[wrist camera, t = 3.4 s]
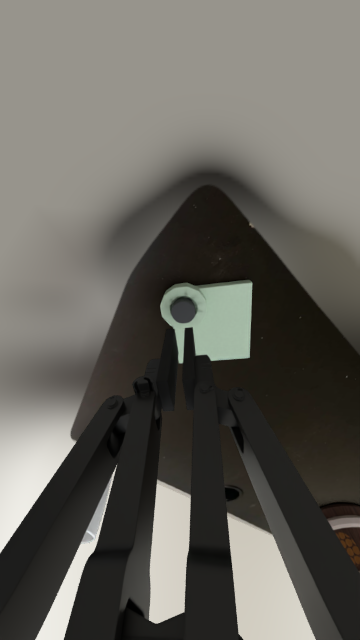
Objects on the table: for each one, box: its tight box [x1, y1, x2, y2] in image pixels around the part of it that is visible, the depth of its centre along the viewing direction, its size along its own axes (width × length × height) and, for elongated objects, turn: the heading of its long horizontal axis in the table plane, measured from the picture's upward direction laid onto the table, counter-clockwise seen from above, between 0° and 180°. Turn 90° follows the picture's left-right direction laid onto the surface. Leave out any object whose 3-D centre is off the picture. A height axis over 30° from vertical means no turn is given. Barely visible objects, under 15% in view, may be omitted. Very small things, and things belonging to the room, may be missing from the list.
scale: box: [160, 280, 252, 363], centre depth 27 cm, size 13×12×3 cm
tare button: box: [171, 297, 196, 324], centre depth 24 cm, size 3×3×2 cm
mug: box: [320, 504, 360, 572], centre depth 49 cm, size 20×15×15 cm
